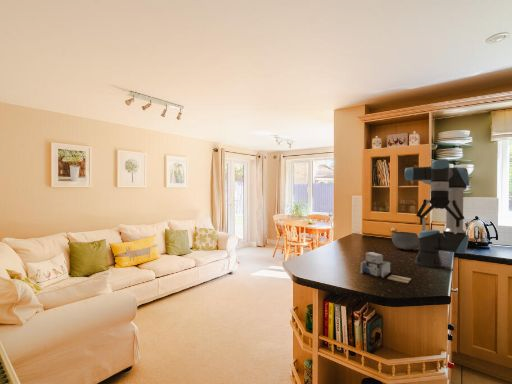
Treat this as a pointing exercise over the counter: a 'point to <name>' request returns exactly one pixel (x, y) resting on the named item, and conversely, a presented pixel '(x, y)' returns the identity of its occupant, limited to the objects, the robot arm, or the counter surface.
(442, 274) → the counter surface
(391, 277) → the pad
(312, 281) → the counter surface
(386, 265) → the cradle
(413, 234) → the bowl
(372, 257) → the ink box
